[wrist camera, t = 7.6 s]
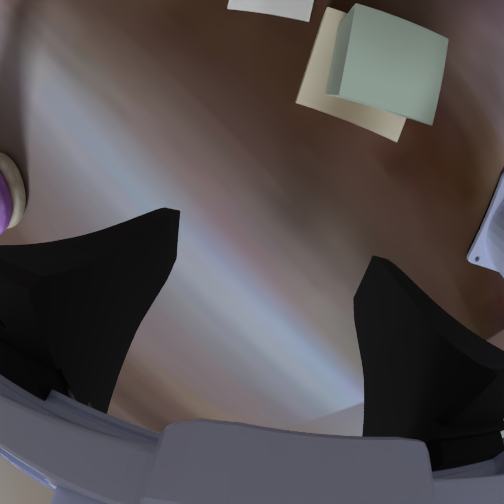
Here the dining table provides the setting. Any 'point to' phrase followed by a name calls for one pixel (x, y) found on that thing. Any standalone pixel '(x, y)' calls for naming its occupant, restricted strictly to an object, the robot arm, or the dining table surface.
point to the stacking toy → (10, 194)
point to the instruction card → (276, 7)
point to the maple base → (345, 109)
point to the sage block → (387, 64)
